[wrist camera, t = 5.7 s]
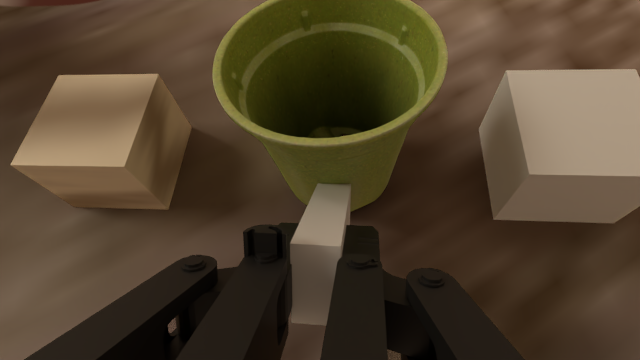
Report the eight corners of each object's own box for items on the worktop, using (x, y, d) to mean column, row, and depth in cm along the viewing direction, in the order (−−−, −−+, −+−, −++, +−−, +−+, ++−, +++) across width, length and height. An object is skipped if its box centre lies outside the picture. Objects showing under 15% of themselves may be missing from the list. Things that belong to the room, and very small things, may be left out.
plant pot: (232, 217, 21) (166, 114, 14) (292, 97, 26) (266, -28, 18) (397, 265, 19) (421, 173, 12) (431, 125, 24) (464, -6, 16)
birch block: (169, 210, 22) (124, 166, 18) (75, 207, 23) (10, 165, 19) (192, 128, 25) (158, 73, 21) (108, 128, 26) (58, 75, 22)
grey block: (612, 224, 20) (684, 177, 15) (492, 220, 20) (529, 174, 16) (582, 131, 23) (635, 69, 18) (478, 130, 23) (506, 70, 19)
